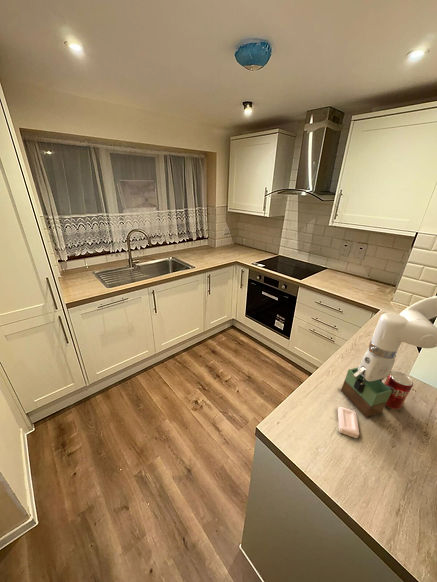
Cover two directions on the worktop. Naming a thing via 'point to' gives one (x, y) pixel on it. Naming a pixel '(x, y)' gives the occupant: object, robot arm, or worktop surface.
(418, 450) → the worktop surface
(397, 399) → the soda can
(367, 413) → the walnut basket
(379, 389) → the green basket
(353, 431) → the soap bar
